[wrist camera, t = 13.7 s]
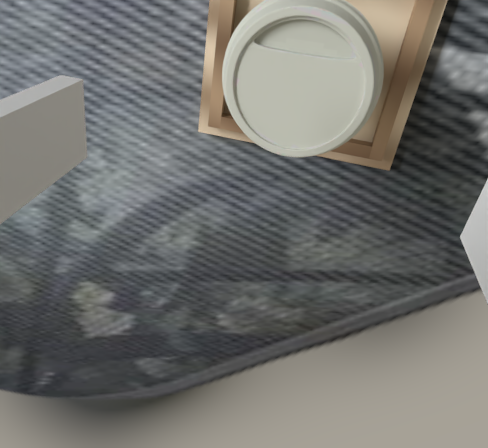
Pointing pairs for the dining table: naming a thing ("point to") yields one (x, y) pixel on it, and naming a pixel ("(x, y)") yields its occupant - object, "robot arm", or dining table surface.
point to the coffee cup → (302, 75)
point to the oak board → (394, 81)
